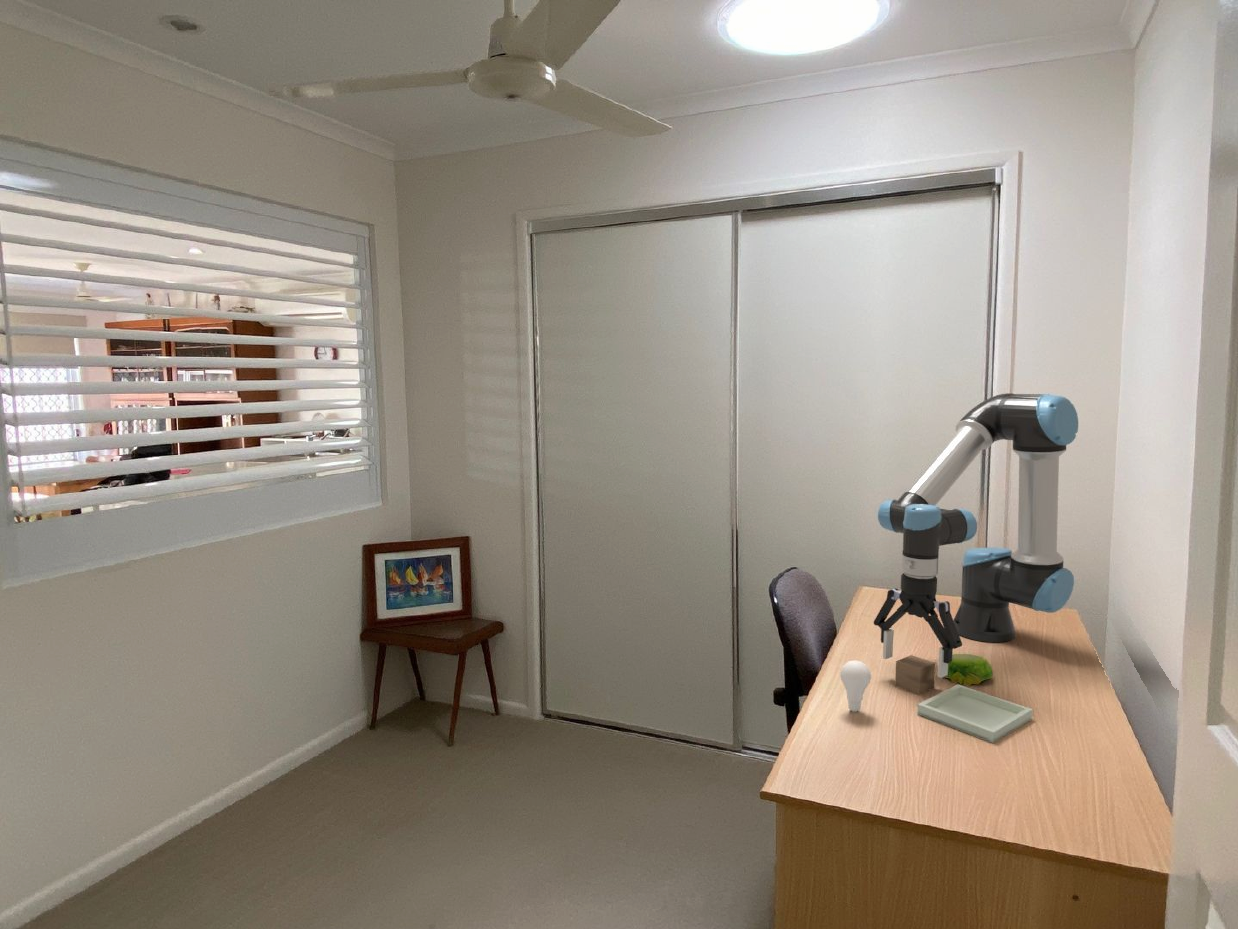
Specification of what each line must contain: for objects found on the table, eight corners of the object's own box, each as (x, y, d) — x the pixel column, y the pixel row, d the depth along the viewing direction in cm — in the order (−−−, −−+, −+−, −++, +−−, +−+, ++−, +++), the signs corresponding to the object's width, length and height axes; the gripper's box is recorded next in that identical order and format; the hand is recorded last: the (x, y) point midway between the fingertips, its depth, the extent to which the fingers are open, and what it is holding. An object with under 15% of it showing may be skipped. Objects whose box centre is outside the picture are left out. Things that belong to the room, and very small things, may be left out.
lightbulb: (869, 707, 166) (871, 657, 165) (869, 719, 160) (870, 668, 159) (840, 703, 168) (841, 654, 167) (838, 715, 162) (839, 665, 161)
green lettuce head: (997, 688, 175) (998, 666, 175) (946, 685, 177) (947, 664, 177) (983, 669, 187) (984, 648, 186) (935, 666, 189) (936, 646, 188)
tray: (957, 693, 172) (958, 684, 172) (1032, 719, 160) (1032, 709, 159) (917, 714, 162) (917, 704, 162) (993, 743, 150) (993, 732, 150)
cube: (910, 679, 180) (911, 655, 179) (934, 688, 176) (935, 662, 175) (895, 686, 177) (896, 661, 176) (919, 695, 172) (920, 669, 171)
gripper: (860, 565, 180) (856, 654, 183) (964, 590, 161) (958, 688, 163) (879, 561, 185) (875, 647, 187) (982, 584, 165) (976, 680, 168)
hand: (914, 666), depth 175 cm, fingers open, 13 cm apart
